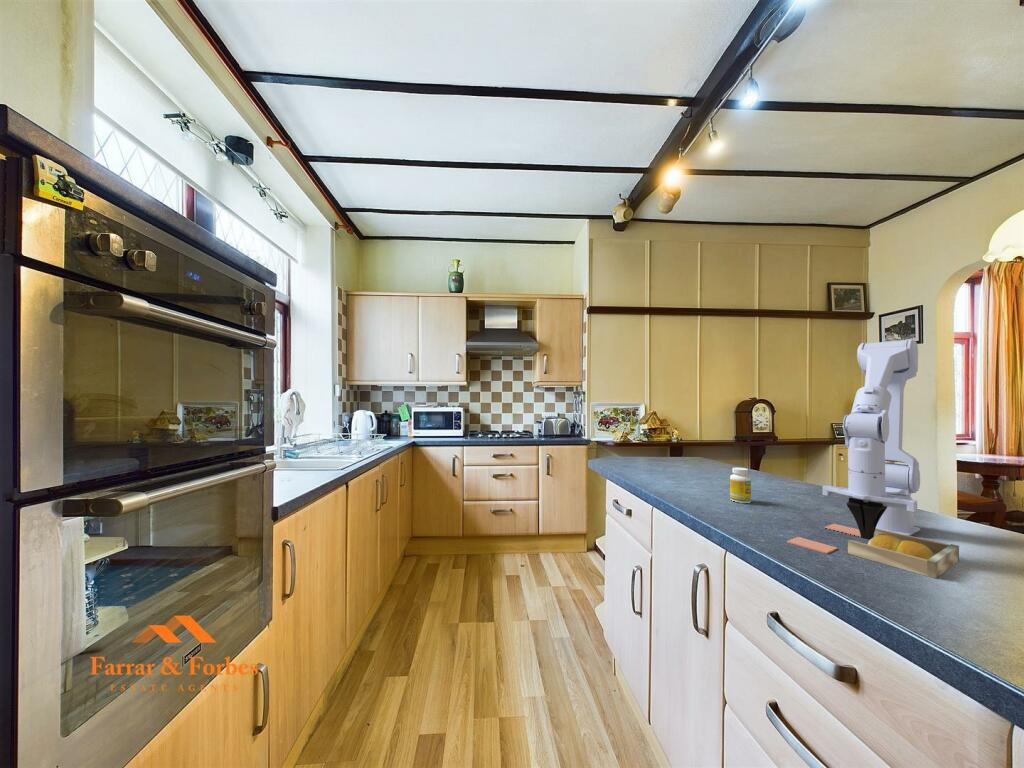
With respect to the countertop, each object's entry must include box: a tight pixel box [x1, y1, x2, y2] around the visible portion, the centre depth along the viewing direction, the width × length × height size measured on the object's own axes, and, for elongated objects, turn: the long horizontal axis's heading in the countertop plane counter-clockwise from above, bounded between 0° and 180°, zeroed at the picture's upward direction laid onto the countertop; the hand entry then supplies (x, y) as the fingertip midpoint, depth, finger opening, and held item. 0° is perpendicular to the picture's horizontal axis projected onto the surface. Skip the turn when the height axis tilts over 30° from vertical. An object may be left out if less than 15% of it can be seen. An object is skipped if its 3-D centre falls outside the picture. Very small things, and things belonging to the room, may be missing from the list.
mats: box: [786, 523, 861, 555], centre depth 86 cm, size 23×7×1 cm, turn 121°
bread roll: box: [867, 534, 934, 560], centre depth 76 cm, size 8×9×4 cm
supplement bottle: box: [729, 467, 752, 504], centre depth 115 cm, size 5×5×10 cm
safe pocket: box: [847, 528, 960, 579], centre depth 76 cm, size 15×12×3 cm
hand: (867, 538), depth 81 cm, fingers closed
